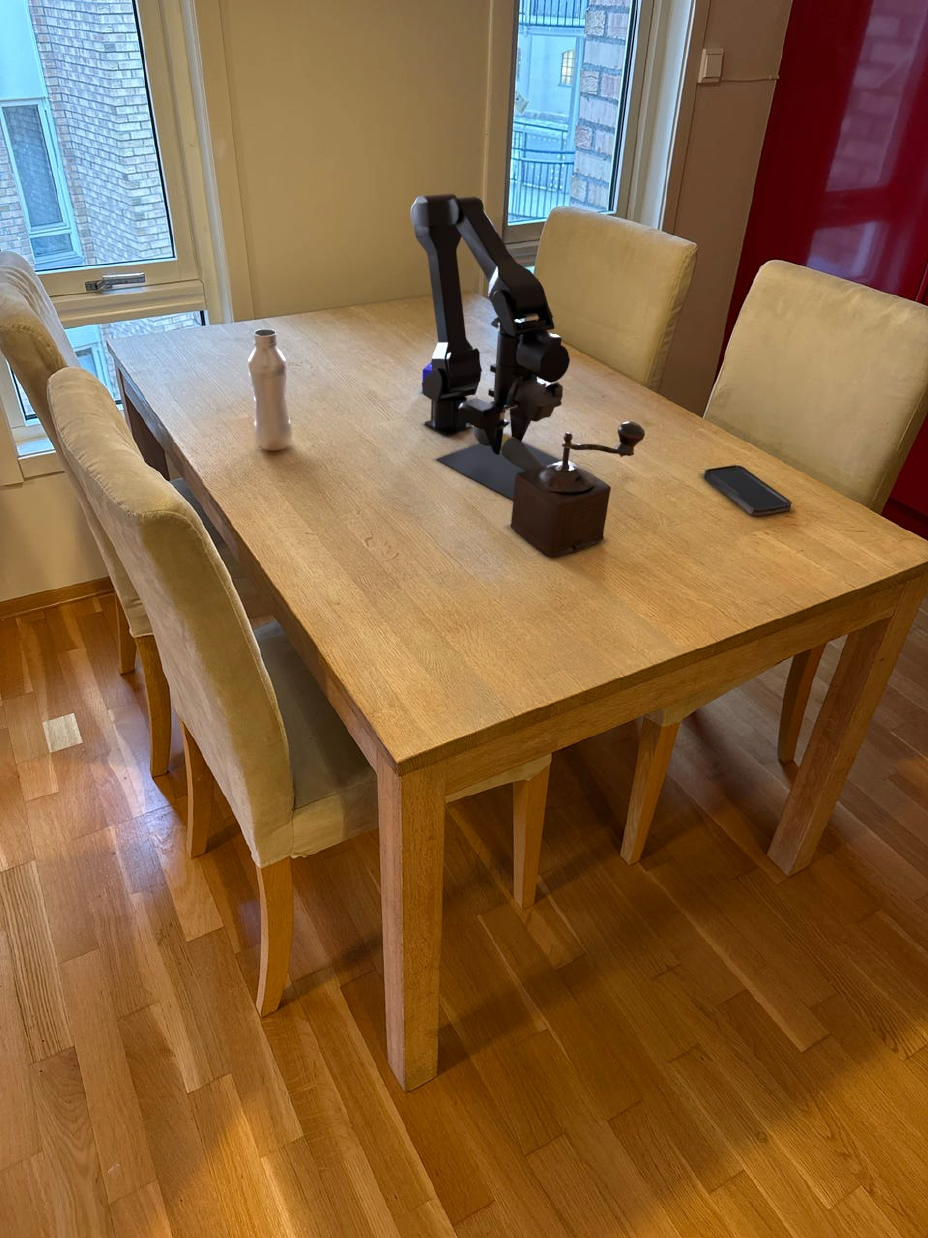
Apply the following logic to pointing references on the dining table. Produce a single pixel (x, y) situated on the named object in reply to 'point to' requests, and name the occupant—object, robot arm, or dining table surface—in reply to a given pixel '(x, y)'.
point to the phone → (747, 490)
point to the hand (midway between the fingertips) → (506, 450)
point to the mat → (490, 467)
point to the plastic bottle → (269, 392)
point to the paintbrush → (511, 450)
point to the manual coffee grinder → (566, 499)
